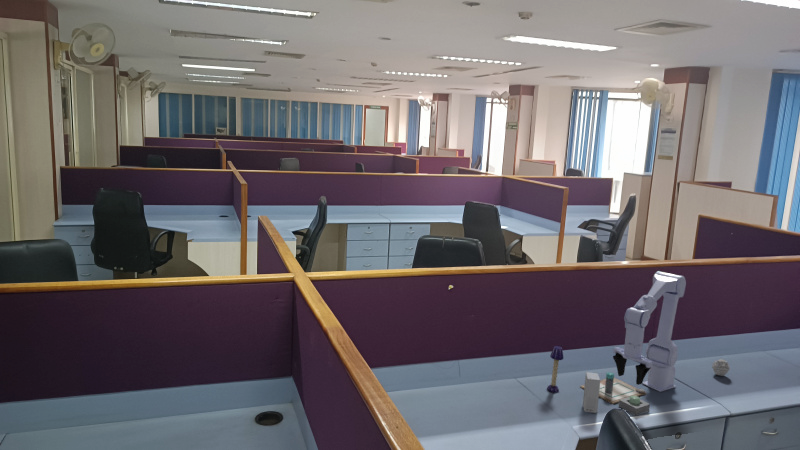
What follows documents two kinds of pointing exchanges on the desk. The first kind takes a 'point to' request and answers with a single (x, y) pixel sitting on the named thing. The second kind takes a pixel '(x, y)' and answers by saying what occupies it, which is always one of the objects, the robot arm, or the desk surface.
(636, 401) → the button
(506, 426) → the desk surface
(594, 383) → the skincare box
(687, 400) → the desk surface
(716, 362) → the grey lumpy rounded piece
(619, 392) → the framed board
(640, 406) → the button housing
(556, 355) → the toy lamp
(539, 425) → the desk surface
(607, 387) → the marker
